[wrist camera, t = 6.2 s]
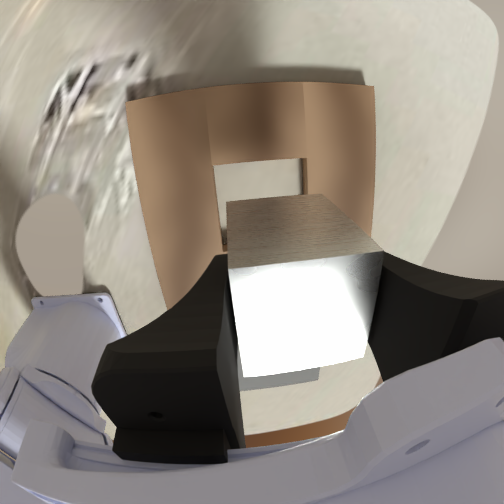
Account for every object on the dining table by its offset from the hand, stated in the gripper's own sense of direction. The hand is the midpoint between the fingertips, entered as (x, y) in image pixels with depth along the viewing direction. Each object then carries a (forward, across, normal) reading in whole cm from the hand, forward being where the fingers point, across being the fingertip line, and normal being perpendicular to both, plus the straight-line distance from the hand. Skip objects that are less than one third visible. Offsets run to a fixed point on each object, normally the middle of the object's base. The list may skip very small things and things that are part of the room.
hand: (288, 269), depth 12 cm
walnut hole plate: (+9, 0, 0) cm, 9 cm away
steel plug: (+3, 0, 0) cm, 3 cm away
